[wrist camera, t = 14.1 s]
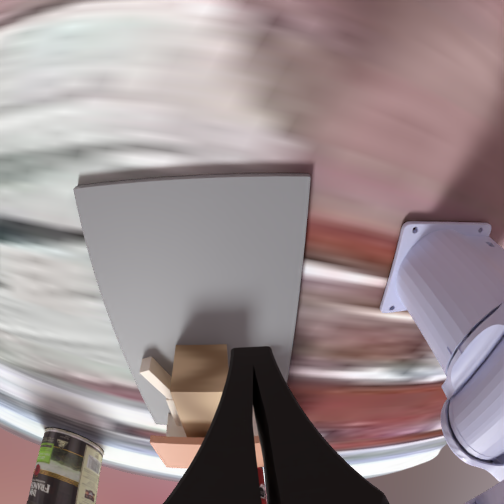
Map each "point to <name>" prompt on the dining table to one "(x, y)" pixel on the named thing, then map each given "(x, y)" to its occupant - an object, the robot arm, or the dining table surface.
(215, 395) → the tan cardboard block
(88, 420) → the dining table surface
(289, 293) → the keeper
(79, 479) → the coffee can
